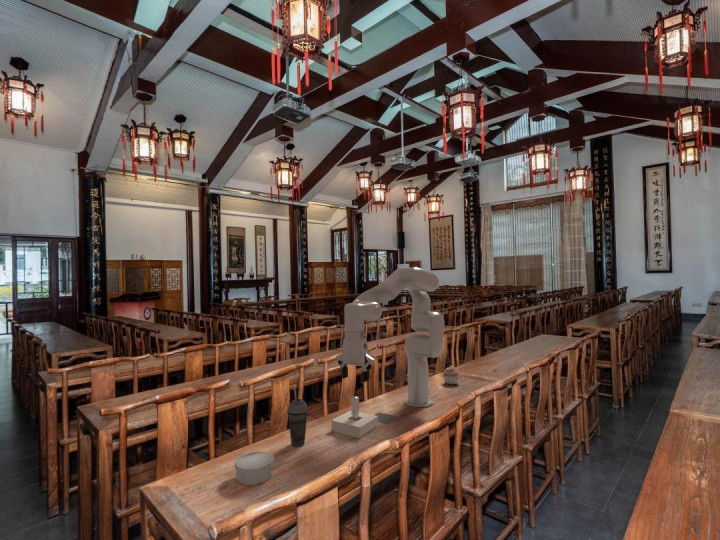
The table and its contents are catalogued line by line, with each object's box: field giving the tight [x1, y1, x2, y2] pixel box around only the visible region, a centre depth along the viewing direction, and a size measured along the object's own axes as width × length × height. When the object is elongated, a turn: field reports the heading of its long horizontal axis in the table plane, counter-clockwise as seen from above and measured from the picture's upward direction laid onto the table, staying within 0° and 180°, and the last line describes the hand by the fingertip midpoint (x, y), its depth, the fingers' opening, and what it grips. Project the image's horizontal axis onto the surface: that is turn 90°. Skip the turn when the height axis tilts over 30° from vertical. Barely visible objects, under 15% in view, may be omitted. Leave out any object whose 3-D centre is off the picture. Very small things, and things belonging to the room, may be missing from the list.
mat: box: [374, 411, 400, 425], centre depth 154 cm, size 10×10×1 cm
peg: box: [350, 395, 360, 421], centre depth 145 cm, size 3×3×12 cm
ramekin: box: [234, 450, 275, 486], centre depth 110 cm, size 11×11×5 cm
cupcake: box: [441, 365, 461, 386], centre depth 206 cm, size 9×9×10 cm
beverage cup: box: [287, 386, 309, 448], centre depth 132 cm, size 7×7×20 cm
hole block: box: [331, 409, 379, 439], centre depth 145 cm, size 13×13×4 cm
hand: (355, 379), depth 145 cm, fingers open, 9 cm apart
